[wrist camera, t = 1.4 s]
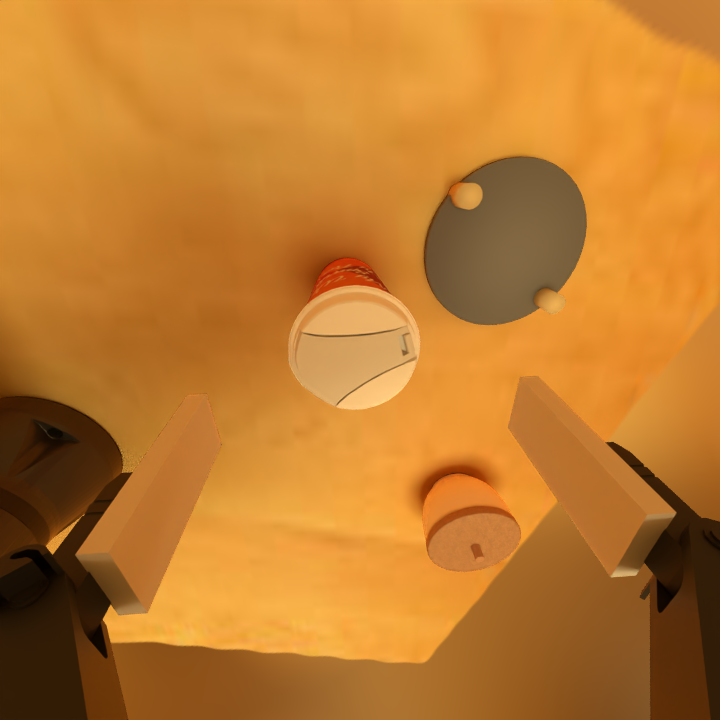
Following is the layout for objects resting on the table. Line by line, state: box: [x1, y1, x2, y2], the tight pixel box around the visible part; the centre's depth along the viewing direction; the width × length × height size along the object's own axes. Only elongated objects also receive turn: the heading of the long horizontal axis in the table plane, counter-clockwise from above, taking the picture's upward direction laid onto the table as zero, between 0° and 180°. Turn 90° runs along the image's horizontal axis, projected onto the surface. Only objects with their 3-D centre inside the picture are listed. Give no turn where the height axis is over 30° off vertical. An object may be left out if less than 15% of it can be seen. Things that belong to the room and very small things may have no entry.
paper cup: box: [288, 258, 420, 410], centre depth 24 cm, size 8×8×14 cm
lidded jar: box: [422, 473, 521, 572], centre depth 40 cm, size 11×11×9 cm
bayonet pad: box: [424, 157, 587, 325], centre depth 29 cm, size 14×14×3 cm
